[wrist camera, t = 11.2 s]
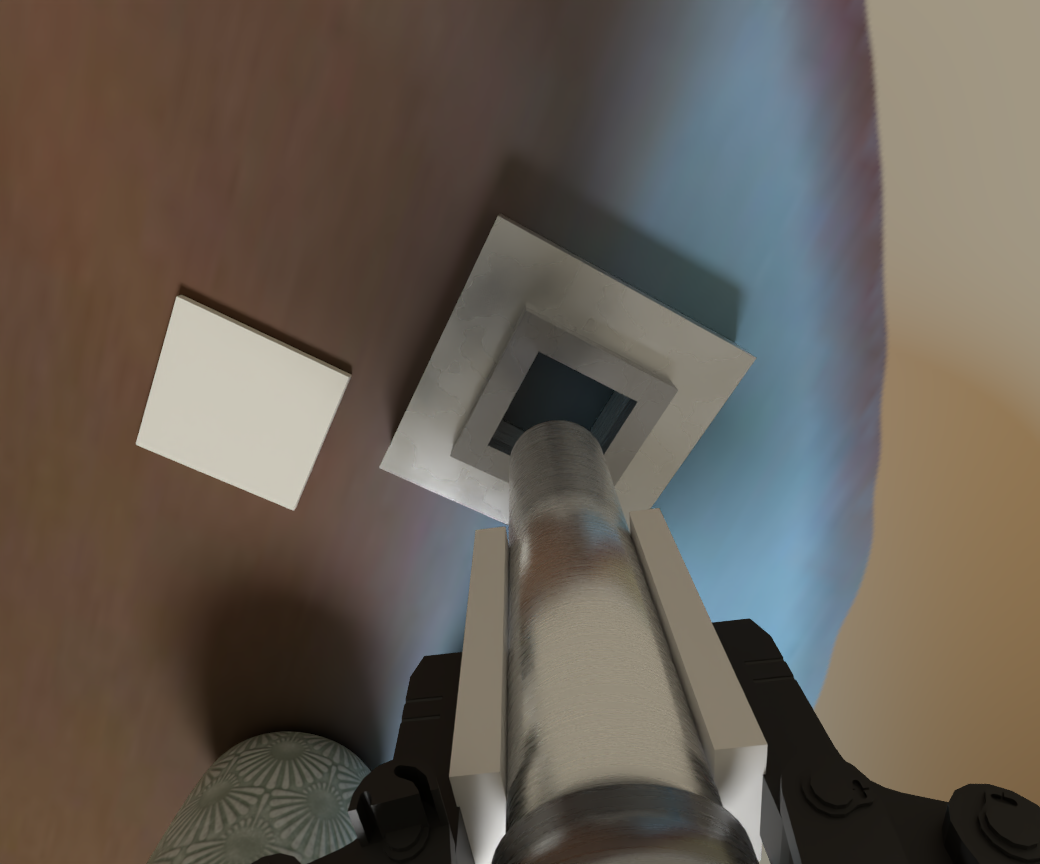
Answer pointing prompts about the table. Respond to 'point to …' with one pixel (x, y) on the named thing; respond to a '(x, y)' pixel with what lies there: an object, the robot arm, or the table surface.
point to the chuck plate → (575, 343)
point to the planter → (267, 803)
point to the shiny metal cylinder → (595, 682)
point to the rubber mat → (239, 404)
